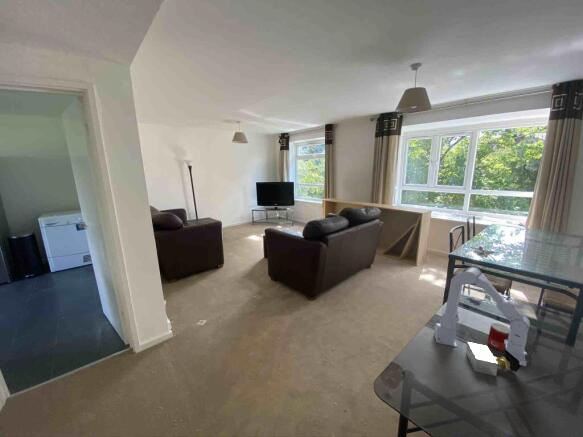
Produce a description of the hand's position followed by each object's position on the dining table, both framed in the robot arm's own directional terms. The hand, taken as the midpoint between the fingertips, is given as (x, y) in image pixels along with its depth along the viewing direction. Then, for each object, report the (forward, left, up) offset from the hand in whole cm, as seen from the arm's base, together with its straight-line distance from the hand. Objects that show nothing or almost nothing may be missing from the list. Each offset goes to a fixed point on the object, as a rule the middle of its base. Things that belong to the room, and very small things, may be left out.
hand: (511, 367), depth 108 cm
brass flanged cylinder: (-3, 0, -2) cm, 3 cm away
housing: (-12, 0, -2) cm, 12 cm away
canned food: (+1, +18, -2) cm, 18 cm away
